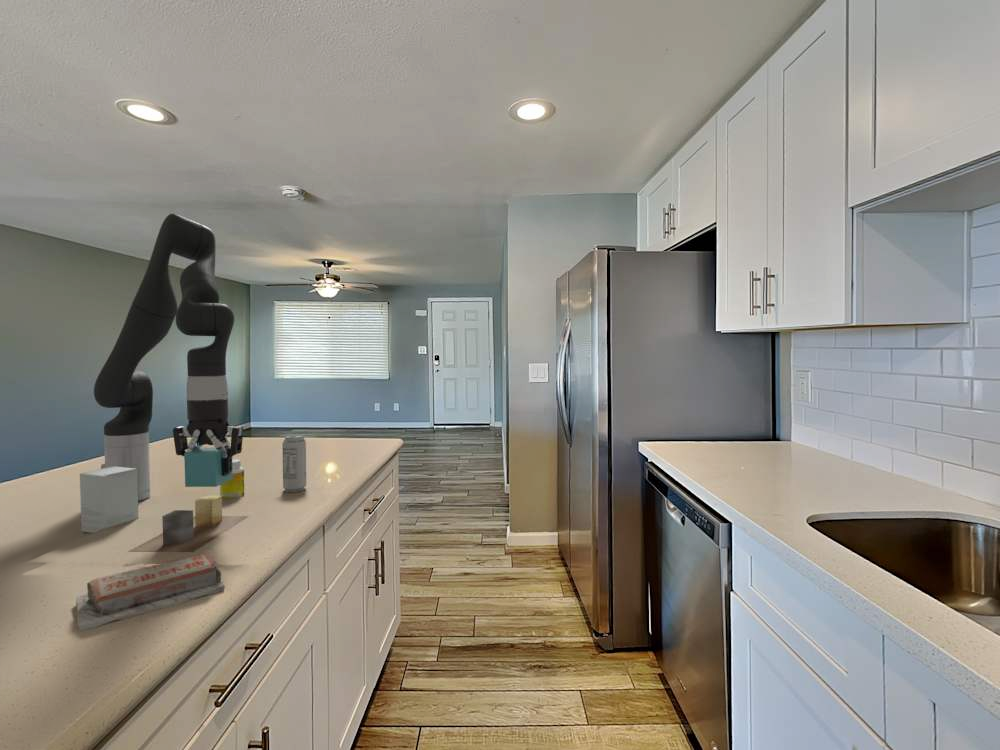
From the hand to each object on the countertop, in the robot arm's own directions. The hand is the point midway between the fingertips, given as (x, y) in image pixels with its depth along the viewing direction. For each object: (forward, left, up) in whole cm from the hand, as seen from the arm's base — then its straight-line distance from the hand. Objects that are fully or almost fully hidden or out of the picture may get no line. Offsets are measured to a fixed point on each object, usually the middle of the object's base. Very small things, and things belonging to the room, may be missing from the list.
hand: (209, 474), depth 106 cm
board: (0, -5, -12) cm, 13 cm away
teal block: (0, 0, -2) cm, 2 cm away
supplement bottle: (-7, +22, -12) cm, 26 cm away
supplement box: (-22, +1, -12) cm, 25 cm away
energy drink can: (+5, +32, -12) cm, 34 cm away
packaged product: (+8, -29, -13) cm, 33 cm away
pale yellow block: (0, 0, -11) cm, 11 cm away
